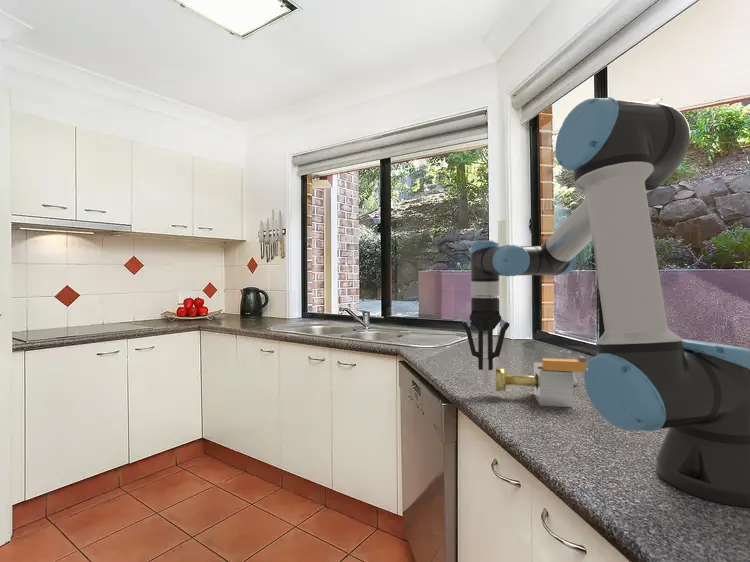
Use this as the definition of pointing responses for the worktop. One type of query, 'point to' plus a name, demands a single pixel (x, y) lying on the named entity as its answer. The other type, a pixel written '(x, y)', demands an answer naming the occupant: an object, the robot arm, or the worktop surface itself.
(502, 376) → the pin
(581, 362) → the bar
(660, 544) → the worktop surface
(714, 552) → the worktop surface
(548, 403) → the block
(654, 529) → the worktop surface
